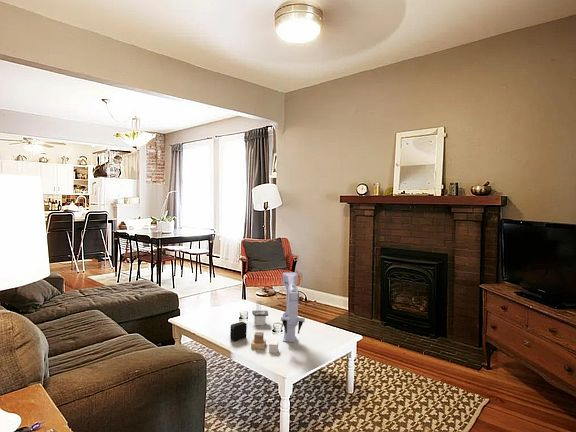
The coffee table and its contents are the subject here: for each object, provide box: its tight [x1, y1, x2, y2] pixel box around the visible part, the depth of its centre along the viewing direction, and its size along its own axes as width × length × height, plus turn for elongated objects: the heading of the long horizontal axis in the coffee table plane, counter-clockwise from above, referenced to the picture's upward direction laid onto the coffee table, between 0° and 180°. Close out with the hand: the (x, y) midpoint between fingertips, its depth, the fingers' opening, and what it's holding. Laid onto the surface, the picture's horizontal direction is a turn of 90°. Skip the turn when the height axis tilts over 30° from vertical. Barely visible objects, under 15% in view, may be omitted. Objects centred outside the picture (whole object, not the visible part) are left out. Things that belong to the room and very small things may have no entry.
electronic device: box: [229, 321, 248, 342], centre depth 236 cm, size 4×10×10 cm, turn 135°
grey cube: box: [268, 340, 279, 354], centre depth 220 cm, size 5×5×5 cm
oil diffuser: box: [251, 301, 269, 326], centre depth 266 cm, size 26×24×17 cm
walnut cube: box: [253, 331, 264, 343], centre depth 226 cm, size 5×5×5 cm
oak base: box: [250, 338, 267, 350], centre depth 226 cm, size 8×8×3 cm
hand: (292, 332), depth 224 cm, fingers open, 7 cm apart
